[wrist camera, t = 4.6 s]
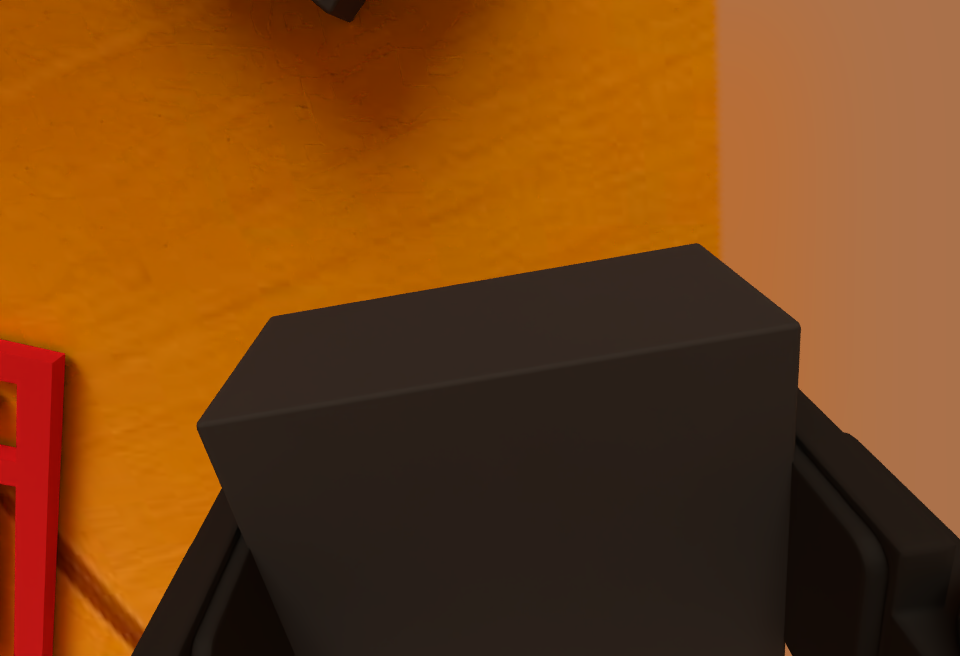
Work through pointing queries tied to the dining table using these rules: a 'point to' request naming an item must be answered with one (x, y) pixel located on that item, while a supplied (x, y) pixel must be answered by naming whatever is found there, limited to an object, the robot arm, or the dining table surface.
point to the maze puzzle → (34, 488)
